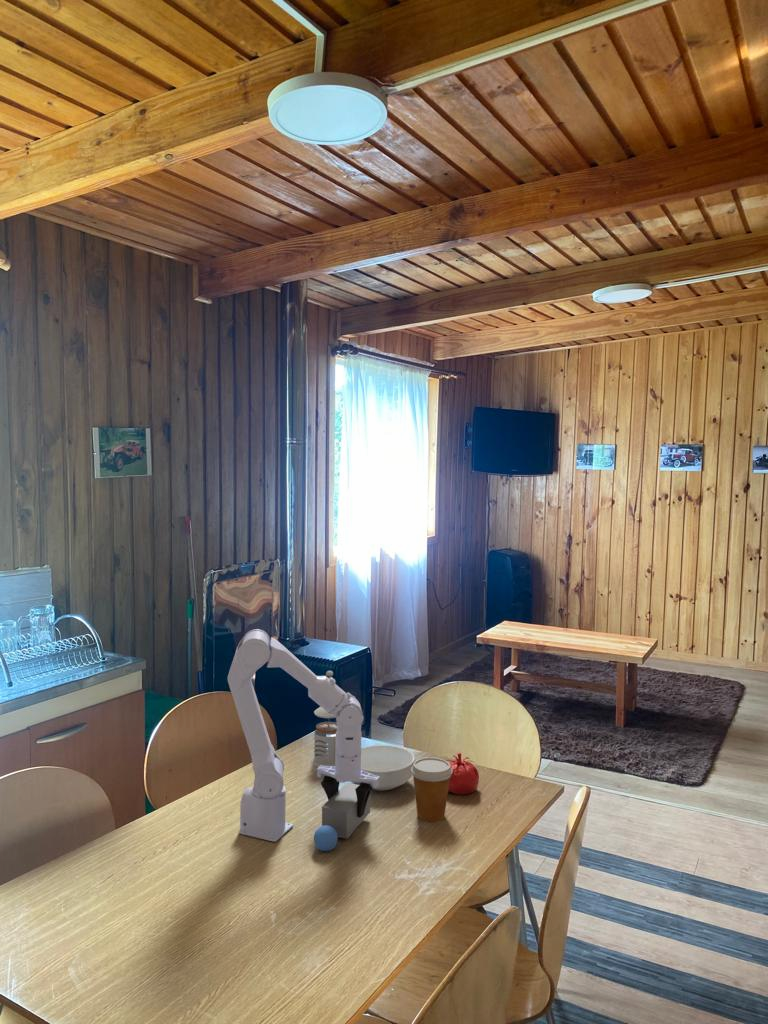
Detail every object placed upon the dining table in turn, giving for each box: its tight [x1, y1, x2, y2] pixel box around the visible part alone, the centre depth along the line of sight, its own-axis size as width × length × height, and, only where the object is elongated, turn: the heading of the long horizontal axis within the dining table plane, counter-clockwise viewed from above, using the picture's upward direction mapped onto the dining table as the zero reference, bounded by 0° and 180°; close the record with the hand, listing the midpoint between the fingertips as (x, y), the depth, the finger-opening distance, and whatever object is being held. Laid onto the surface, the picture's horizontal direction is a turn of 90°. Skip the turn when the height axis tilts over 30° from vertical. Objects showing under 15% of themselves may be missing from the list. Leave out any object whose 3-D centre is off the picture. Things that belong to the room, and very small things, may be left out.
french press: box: [310, 670, 337, 768], centre depth 203 cm, size 10×12×25 cm
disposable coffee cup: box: [411, 757, 452, 822], centre depth 173 cm, size 10×10×12 cm
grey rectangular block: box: [321, 782, 371, 840], centre depth 166 cm, size 6×12×6 cm, turn 157°
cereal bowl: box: [361, 744, 416, 791], centre depth 190 cm, size 17×17×7 cm
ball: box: [313, 825, 339, 852], centre depth 157 cm, size 5×5×5 cm
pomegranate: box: [445, 752, 480, 796], centre depth 187 cm, size 10×10×9 cm
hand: (347, 812), depth 167 cm, fingers closed on grey rectangular block, 6 cm apart
